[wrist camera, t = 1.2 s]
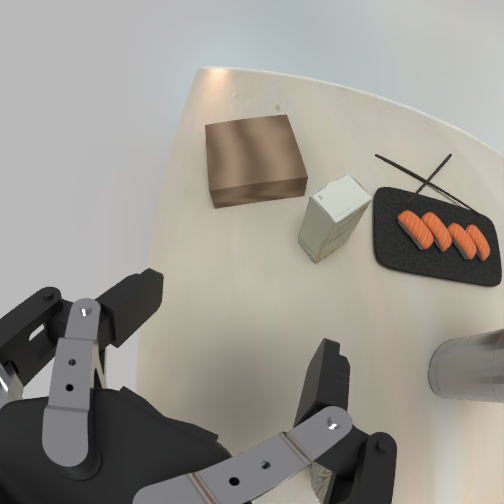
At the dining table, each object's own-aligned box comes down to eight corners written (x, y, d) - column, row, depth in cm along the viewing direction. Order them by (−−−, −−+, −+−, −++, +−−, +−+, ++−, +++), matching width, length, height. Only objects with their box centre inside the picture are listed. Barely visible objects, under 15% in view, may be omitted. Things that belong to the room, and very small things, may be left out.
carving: (304, 447, 29) (320, 483, 18) (357, 437, 29) (393, 465, 18) (305, 483, 27) (319, 526, 16) (357, 473, 27) (388, 508, 15)
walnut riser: (285, 134, 47) (286, 114, 43) (303, 195, 42) (307, 177, 38) (209, 144, 47) (205, 125, 43) (215, 208, 42) (209, 190, 38)
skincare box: (315, 264, 38) (334, 226, 27) (296, 240, 40) (307, 194, 28) (347, 241, 39) (374, 198, 28) (329, 219, 41) (348, 170, 29)
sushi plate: (369, 269, 38) (379, 260, 34) (365, 129, 48) (370, 115, 45) (497, 290, 35) (510, 285, 31) (473, 164, 45) (481, 155, 42)
